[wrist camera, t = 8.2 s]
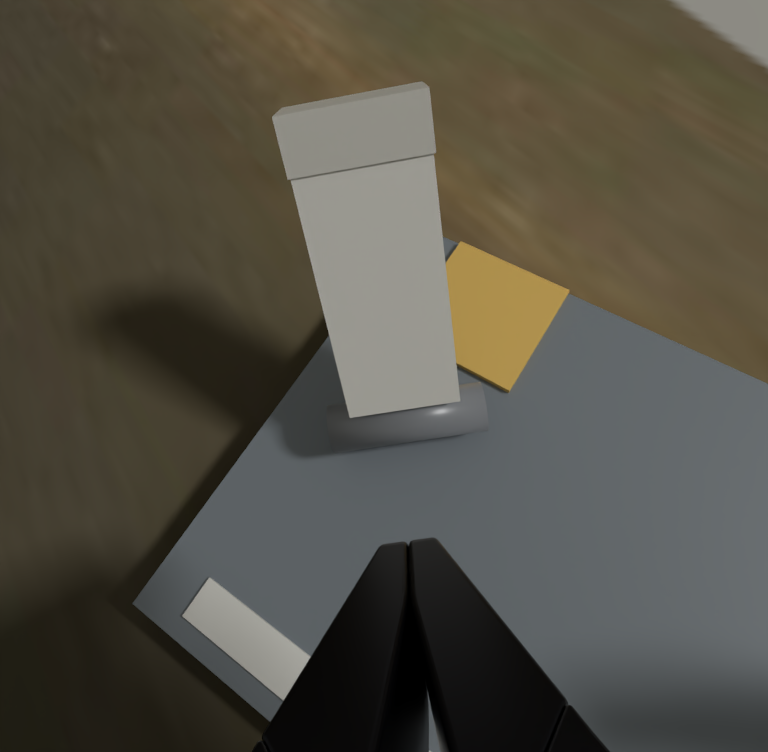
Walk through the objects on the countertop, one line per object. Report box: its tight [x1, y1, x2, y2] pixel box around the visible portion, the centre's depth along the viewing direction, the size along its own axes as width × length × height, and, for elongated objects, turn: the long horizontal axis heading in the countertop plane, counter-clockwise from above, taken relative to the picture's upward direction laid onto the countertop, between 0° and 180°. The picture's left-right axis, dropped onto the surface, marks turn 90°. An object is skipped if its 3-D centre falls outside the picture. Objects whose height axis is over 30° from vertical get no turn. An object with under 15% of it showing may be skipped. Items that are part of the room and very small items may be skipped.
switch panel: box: [132, 237, 768, 752], centre depth 14 cm, size 15×25×1 cm, turn 57°
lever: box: [272, 82, 489, 453], centre depth 14 cm, size 2×4×9 cm
